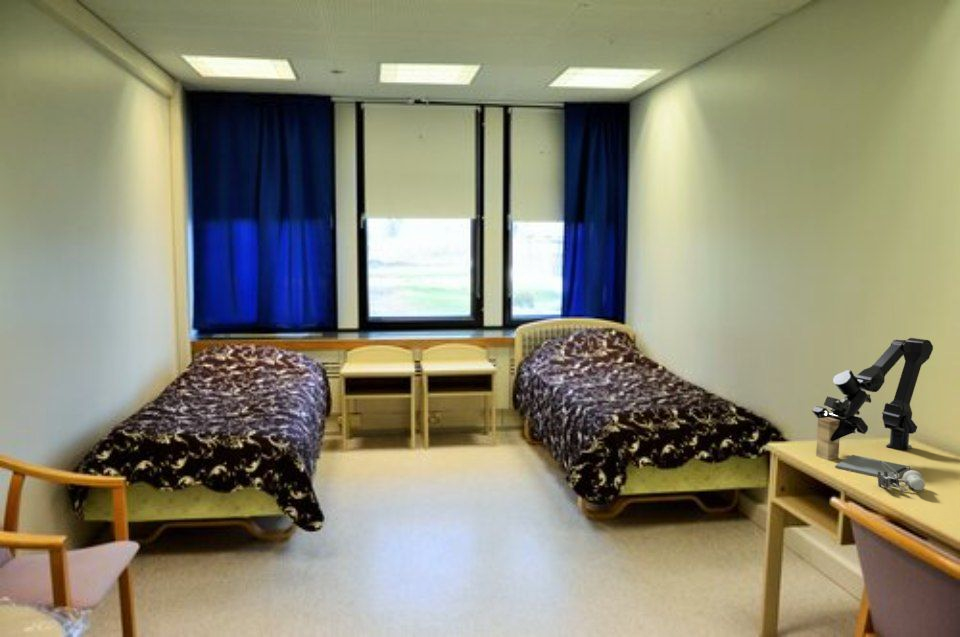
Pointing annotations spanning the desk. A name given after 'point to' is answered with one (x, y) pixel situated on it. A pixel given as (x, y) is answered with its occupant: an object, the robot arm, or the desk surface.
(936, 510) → the desk surface
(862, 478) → the desk surface
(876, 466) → the slate mat
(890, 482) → the clip-on lamp
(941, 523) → the desk surface
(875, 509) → the desk surface
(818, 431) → the upright wooden block
